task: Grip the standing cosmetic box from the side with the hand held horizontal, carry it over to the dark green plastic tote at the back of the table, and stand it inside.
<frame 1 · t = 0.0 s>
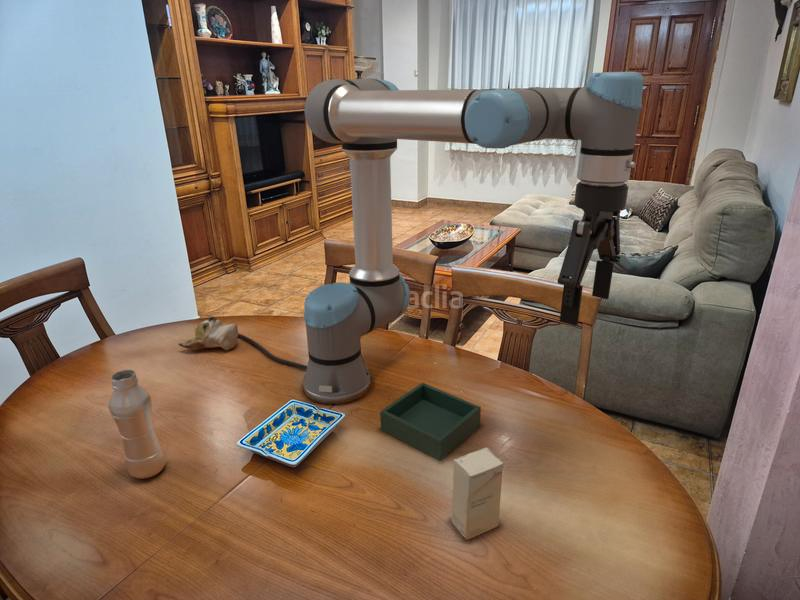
hand: (585, 309, 86), 28 cm above the table, tool pointing down, fingers open, 13 cm apart
tote: (430, 427, 102), on the table
plastic bottle: (148, 471, 92), on the table
cosmetic box: (474, 524, 80), on the table
ceramic sculpture: (215, 347, 137), on the table
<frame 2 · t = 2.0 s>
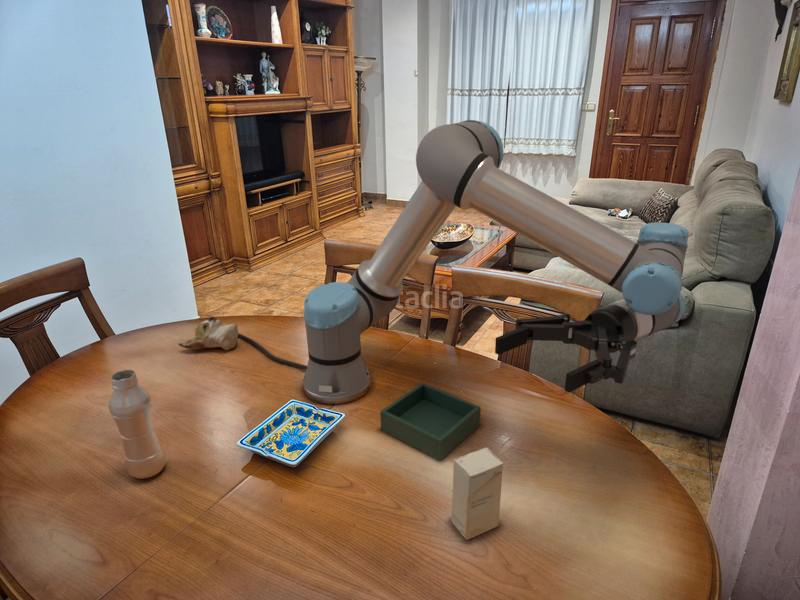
hand: (529, 363, 75), 25 cm above the table, tool horizontal, fingers open, 13 cm apart
nothing on the table moved.
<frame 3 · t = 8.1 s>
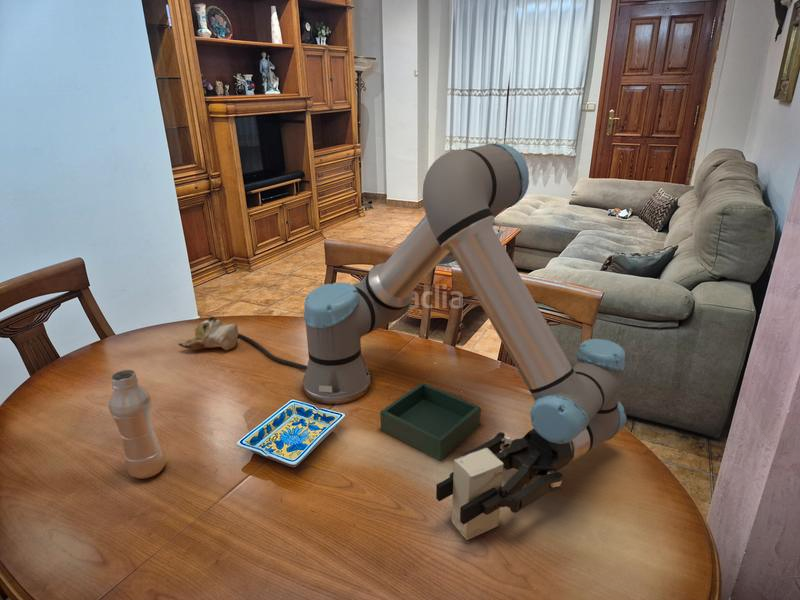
hand: (449, 504, 74), 7 cm above the table, tool horizontal, fingers closed on cosmetic box, 5 cm apart
cosmetic box: (474, 524, 80), on the table, touching gripper
everything else where it was.
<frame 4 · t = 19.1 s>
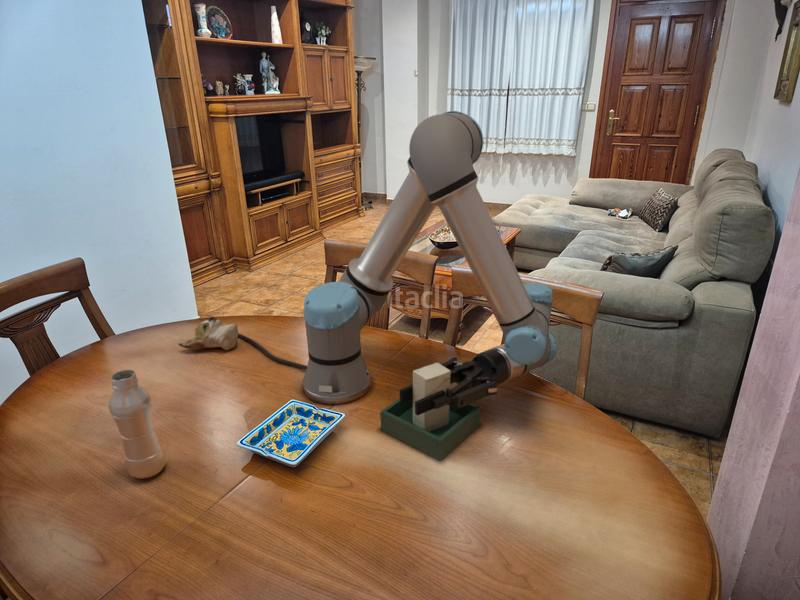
hand: (408, 402, 96), 8 cm above the table, tool horizontal, fingers closed on cosmetic box, 4 cm apart
cosmetic box: (430, 424, 102), point 1 cm above the table, touching gripper, tote
everything else where it was.
when the fingers open (8 cm above the table, at t = 19.2 s): cosmetic box stays where it is, resting on tote.
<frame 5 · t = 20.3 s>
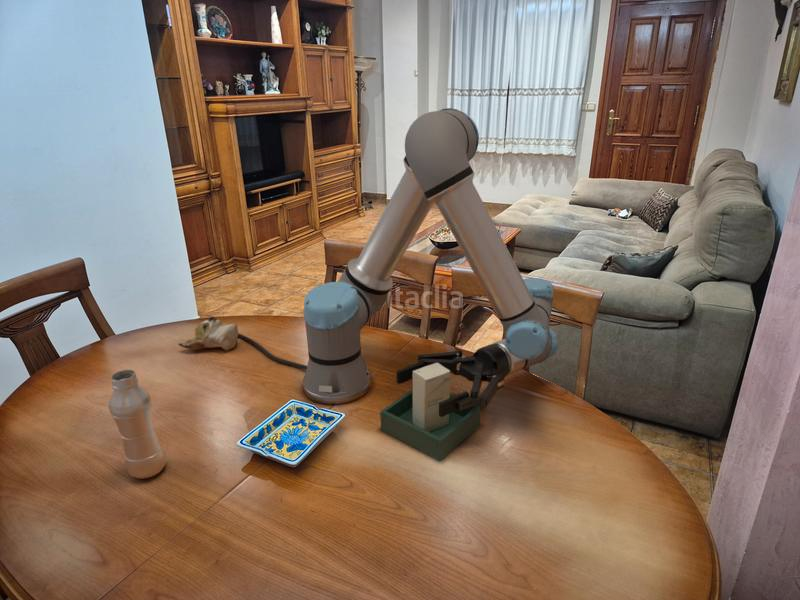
hand: (417, 393, 97), 9 cm above the table, tool horizontal, fingers open, 13 cm apart
cosmetic box: (430, 424, 102), point 1 cm above the table, touching tote
everything else where it was.
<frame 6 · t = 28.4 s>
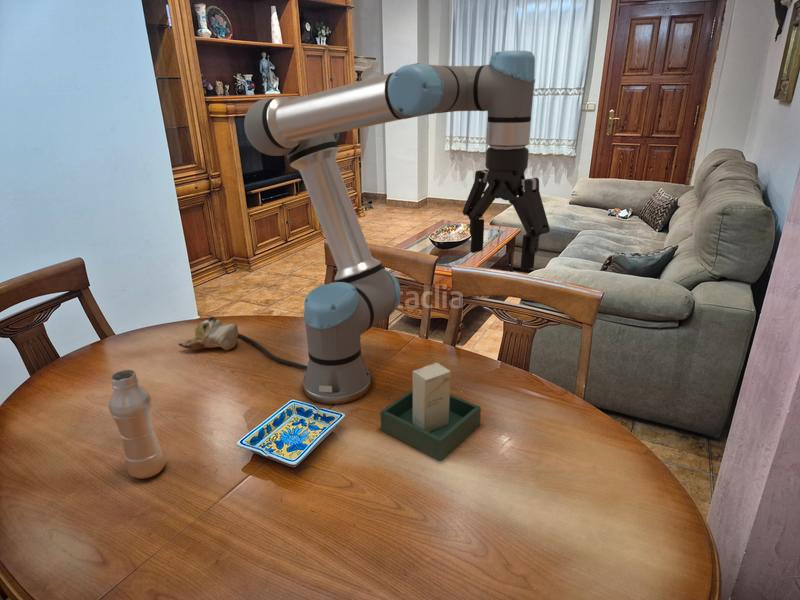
hand: (500, 259, 100), 32 cm above the table, tool pointing down, fingers open, 13 cm apart
nothing on the table moved.
at the end: cosmetic box inside the target area in the tote (0.1 cm from its centre), point 0.8 cm above the tote's base; cosmetic box tilted 0°; the gripper is holding nothing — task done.
